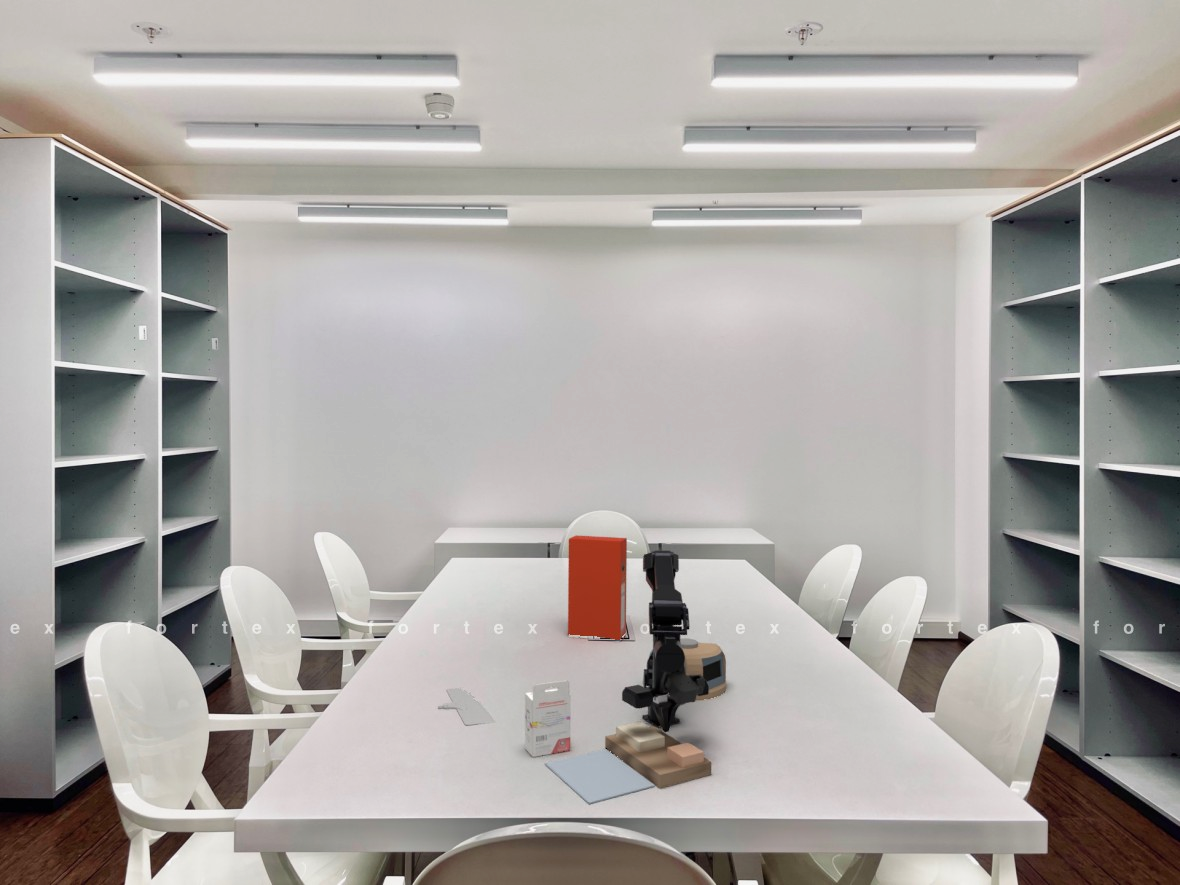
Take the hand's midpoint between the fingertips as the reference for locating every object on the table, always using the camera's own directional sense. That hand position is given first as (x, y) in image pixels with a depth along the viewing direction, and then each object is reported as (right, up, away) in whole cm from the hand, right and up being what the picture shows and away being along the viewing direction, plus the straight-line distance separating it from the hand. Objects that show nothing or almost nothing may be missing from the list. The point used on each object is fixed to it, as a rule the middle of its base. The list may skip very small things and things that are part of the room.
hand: (665, 731), depth 156 cm
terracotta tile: (+3, -1, -12) cm, 12 cm away
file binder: (-14, -3, +85) cm, 86 cm away
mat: (-14, -3, -13) cm, 20 cm away
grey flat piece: (-41, -3, +25) cm, 48 cm away
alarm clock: (+9, -3, +38) cm, 39 cm away
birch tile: (-6, -1, -3) cm, 6 cm away
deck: (-3, -3, -7) cm, 8 cm away
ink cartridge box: (-25, -3, -2) cm, 25 cm away
